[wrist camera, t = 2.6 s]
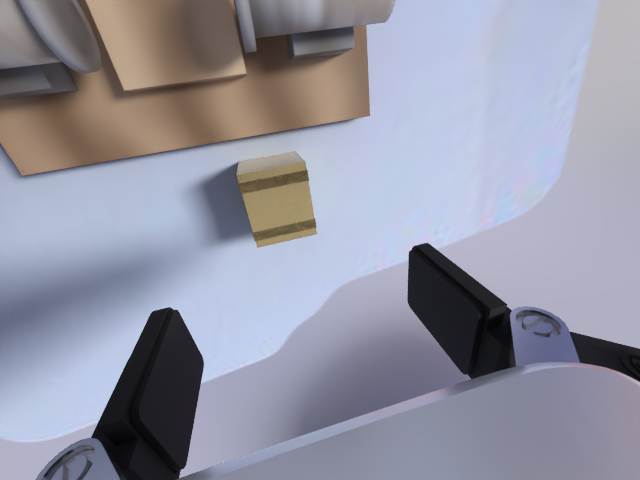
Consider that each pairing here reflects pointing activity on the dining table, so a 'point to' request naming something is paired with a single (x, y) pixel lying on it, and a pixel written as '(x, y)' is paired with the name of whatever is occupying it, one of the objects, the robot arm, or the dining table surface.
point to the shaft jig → (174, 73)
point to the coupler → (277, 198)
